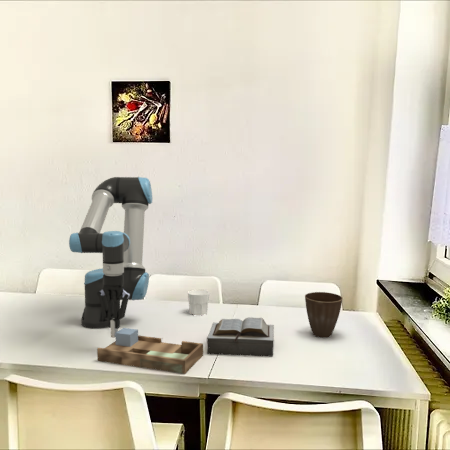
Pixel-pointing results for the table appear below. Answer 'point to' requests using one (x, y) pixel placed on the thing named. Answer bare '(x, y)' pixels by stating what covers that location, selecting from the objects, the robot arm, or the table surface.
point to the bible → (241, 337)
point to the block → (126, 337)
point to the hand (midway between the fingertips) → (114, 336)
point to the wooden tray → (153, 354)
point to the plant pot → (323, 312)
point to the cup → (198, 301)
